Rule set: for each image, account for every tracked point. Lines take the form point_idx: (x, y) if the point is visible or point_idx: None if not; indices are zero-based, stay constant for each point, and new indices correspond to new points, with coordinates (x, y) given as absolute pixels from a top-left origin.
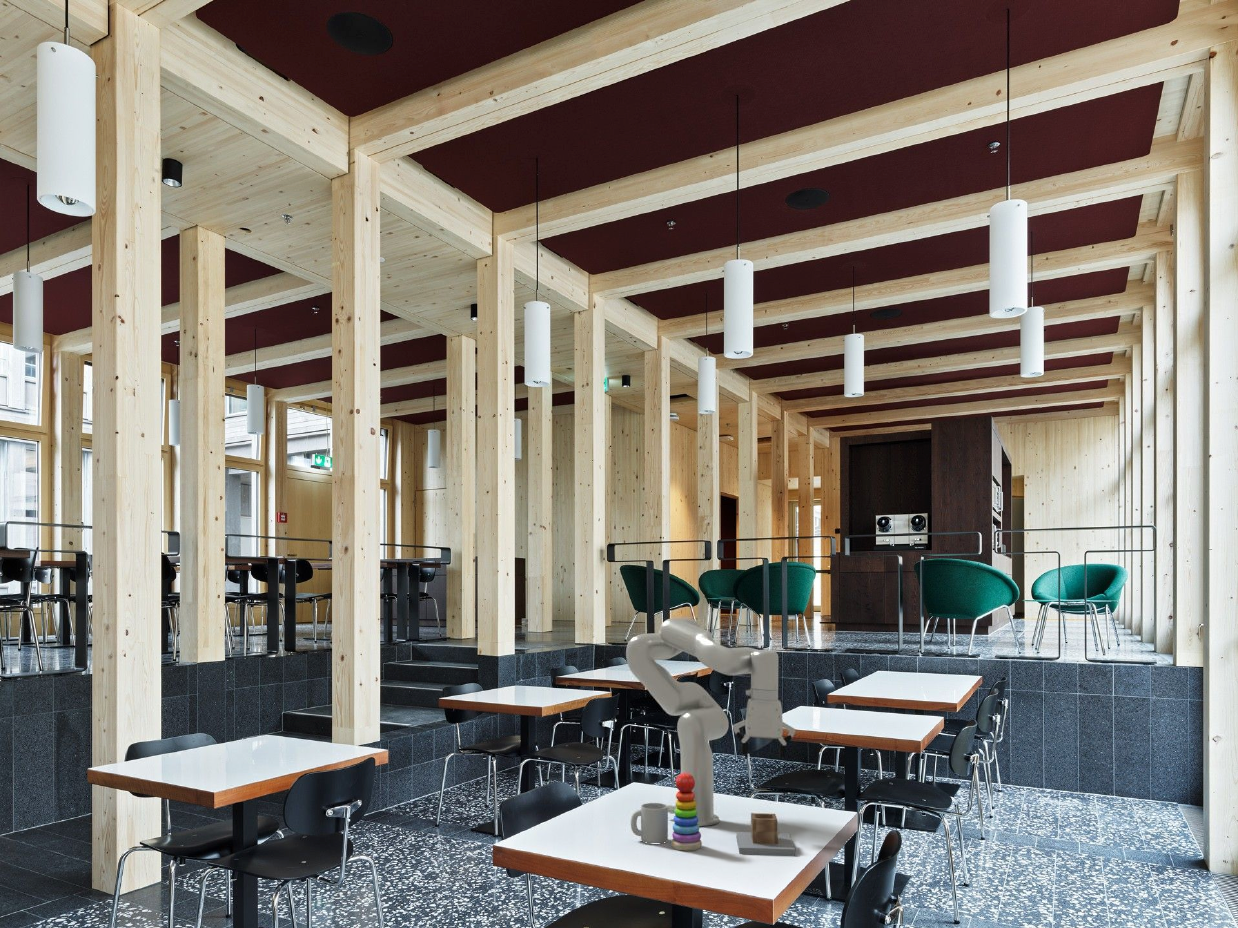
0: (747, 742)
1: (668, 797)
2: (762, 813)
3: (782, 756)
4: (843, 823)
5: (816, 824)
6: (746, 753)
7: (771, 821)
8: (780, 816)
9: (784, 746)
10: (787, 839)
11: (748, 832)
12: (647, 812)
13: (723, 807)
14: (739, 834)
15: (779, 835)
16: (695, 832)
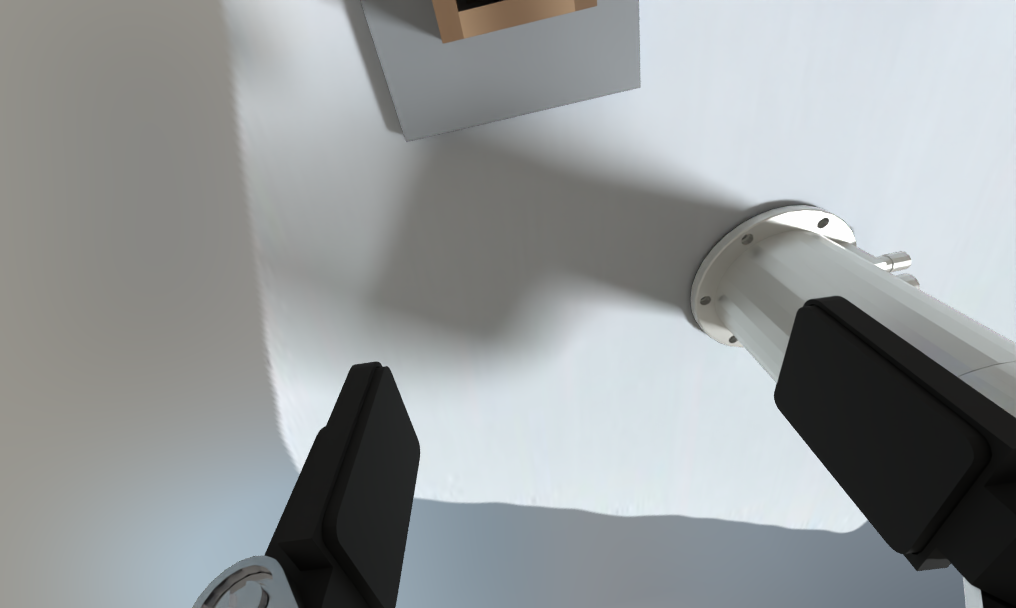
0: (919, 531)
1: (807, 468)
2: (522, 21)
3: (343, 392)
4: (283, 397)
5: (361, 362)
6: (856, 325)
7: None
8: (491, 405)
9: (278, 549)
10: (383, 15)
11: (584, 96)
12: None
13: (663, 434)
14: (626, 40)
15: (437, 87)
16: None
